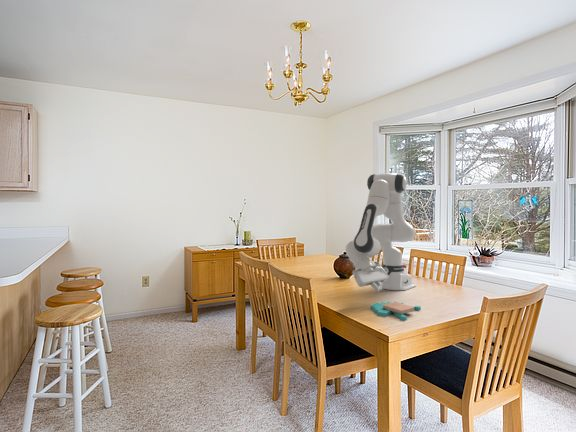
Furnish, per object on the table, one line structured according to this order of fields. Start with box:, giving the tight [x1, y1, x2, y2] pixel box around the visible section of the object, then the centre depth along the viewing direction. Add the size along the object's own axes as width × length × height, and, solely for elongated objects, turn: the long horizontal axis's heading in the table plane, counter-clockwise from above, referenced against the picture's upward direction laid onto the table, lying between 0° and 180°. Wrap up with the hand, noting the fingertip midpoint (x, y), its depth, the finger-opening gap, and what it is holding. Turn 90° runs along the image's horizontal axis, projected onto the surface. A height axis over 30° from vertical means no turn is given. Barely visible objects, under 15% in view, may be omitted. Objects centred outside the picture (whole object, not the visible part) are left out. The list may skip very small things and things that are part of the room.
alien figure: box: [370, 301, 422, 322], centre depth 173 cm, size 20×2×20 cm
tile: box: [383, 301, 415, 315], centre depth 170 cm, size 9×2×11 cm
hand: (379, 290), depth 180 cm, fingers closed
